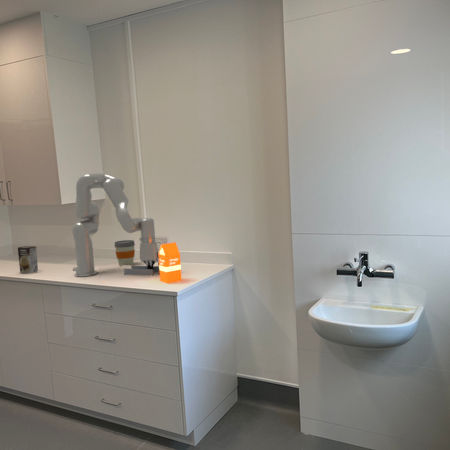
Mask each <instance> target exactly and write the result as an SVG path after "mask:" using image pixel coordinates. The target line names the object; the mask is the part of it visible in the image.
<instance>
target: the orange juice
mask: <svg viewBox="0 0 450 450" xmlns="http://www.w3.org/2000/svg"><path fill="white" fill-rule="evenodd" d="M179 250H180V249H179V248H178V245H177V244H176V242H170V243H162V244H161V245H160V248H159V250H158V253H159V259H158V260H159V270H160V275H159V279H160V280H159V281H160V283H161V282H162V283H165V284H171V283H176V282H180V281H181V282H182V280H183V279H182V265H181V264H182V263H181V253H180V251H179Z"/></svg>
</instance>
